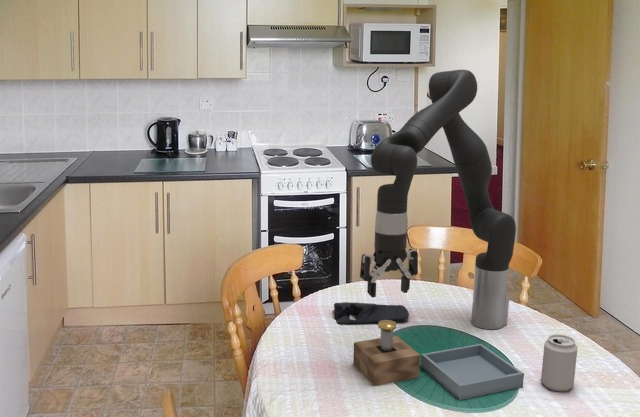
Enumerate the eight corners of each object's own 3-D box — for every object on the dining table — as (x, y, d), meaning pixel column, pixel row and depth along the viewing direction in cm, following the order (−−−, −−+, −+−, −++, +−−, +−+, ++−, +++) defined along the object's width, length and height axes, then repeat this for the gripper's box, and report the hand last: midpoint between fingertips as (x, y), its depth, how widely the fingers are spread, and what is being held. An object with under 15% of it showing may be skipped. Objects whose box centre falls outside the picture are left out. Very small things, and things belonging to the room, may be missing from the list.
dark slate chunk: (410, 328, 206) (411, 312, 205) (333, 326, 207) (333, 310, 206) (406, 308, 221) (406, 293, 220) (333, 306, 222) (334, 291, 220)
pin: (389, 365, 182) (391, 318, 179) (397, 373, 178) (399, 325, 175) (373, 368, 181) (375, 321, 178) (381, 376, 177) (383, 328, 174)
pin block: (395, 357, 187) (396, 335, 186) (418, 377, 176) (420, 354, 175) (353, 364, 183) (353, 342, 181) (374, 386, 172) (375, 362, 170)
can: (535, 378, 177) (540, 332, 174) (565, 377, 178) (570, 331, 175) (547, 393, 170) (552, 346, 167) (578, 392, 170) (584, 345, 167)
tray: (480, 356, 188) (481, 343, 187) (522, 386, 173) (524, 373, 172) (420, 367, 182) (421, 354, 181) (459, 400, 166) (460, 386, 165)
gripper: (410, 222, 177) (406, 285, 181) (356, 227, 171) (354, 292, 175) (425, 230, 170) (422, 295, 174) (370, 236, 165) (368, 303, 169)
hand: (388, 294), depth 175 cm, fingers open, 8 cm apart
